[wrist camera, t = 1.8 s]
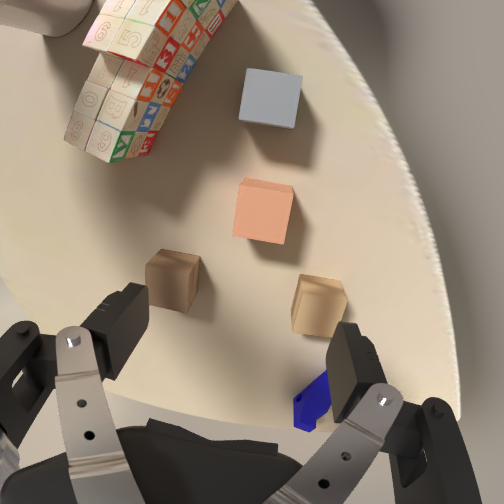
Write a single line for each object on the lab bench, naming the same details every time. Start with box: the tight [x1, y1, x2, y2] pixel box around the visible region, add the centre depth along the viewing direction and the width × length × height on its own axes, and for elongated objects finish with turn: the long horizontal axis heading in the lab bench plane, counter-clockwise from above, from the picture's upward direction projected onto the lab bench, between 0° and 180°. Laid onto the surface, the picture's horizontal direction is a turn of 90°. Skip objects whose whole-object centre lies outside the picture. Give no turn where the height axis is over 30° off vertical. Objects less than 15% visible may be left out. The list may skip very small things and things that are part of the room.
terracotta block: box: [232, 178, 293, 245], centre depth 30 cm, size 5×5×5 cm
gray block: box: [239, 68, 303, 130], centre depth 26 cm, size 5×5×5 cm
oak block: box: [291, 274, 348, 338], centre depth 34 cm, size 5×5×5 cm
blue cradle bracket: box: [293, 370, 332, 432], centre depth 39 cm, size 12×4×6 cm, turn 147°
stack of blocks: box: [64, 0, 238, 163], centre depth 22 cm, size 21×6×12 cm, turn 151°
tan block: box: [145, 249, 200, 313], centre depth 34 cm, size 5×5×5 cm
